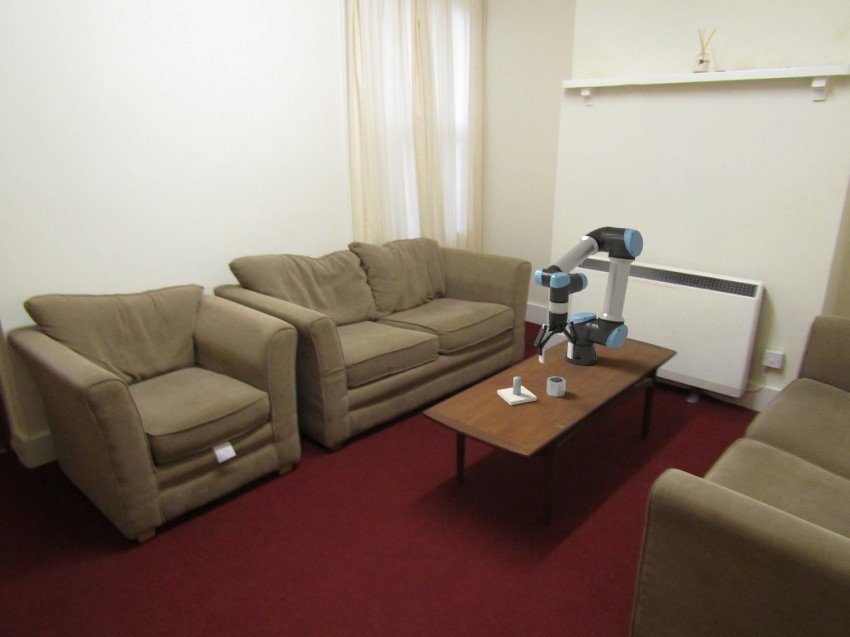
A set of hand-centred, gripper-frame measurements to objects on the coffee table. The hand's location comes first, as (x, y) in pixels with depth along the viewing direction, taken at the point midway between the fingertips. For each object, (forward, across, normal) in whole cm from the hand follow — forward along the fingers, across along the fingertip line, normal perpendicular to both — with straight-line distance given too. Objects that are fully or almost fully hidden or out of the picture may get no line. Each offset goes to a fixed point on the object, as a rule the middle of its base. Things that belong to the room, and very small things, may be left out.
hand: (555, 360), depth 235 cm
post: (+15, +16, -2) cm, 22 cm away
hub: (+15, -1, 0) cm, 15 cm away
